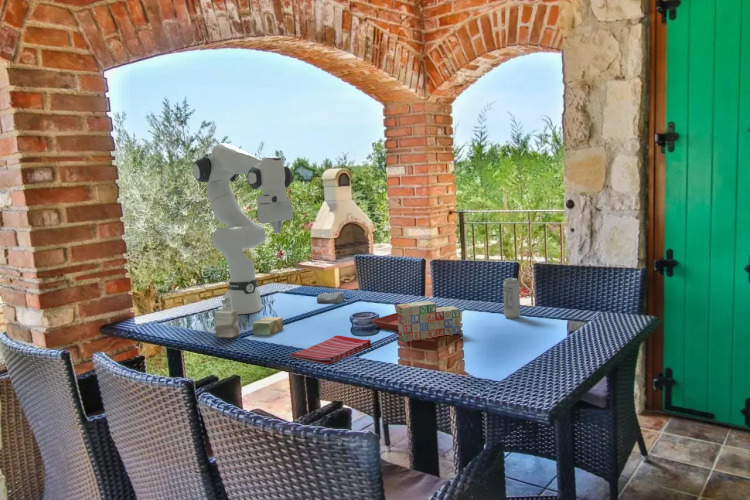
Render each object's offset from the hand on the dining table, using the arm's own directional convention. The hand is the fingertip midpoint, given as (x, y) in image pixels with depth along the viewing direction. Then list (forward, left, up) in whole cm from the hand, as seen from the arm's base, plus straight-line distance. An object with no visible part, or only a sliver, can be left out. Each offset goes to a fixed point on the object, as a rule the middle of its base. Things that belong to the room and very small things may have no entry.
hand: (277, 232), depth 238 cm
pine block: (-2, -24, -37) cm, 44 cm away
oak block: (+5, -14, -35) cm, 38 cm away
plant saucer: (+40, +28, -38) cm, 62 cm away
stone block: (-22, +40, -38) cm, 59 cm away
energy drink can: (+65, +62, -37) cm, 97 cm away
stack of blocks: (+58, +23, -38) cm, 73 cm away
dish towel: (+45, -11, -38) cm, 60 cm away
